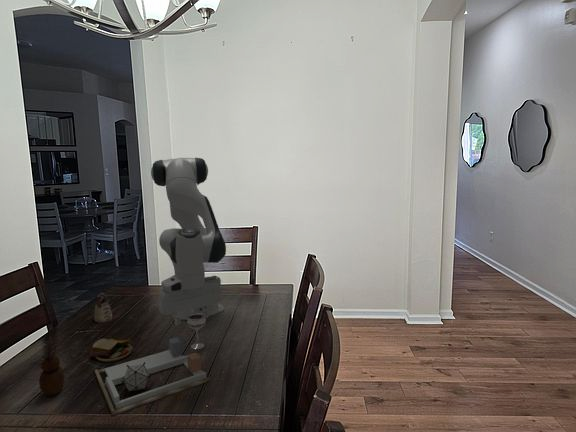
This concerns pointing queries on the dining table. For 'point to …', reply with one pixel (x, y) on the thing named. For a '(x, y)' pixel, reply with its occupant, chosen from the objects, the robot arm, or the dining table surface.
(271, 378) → the dining table surface
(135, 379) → the game die
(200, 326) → the wineglass
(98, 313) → the figurine
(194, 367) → the grey rectangular frame
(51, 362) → the wooden figurine
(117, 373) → the inner strip
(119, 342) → the toy sandwich meal
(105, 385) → the lane rails
